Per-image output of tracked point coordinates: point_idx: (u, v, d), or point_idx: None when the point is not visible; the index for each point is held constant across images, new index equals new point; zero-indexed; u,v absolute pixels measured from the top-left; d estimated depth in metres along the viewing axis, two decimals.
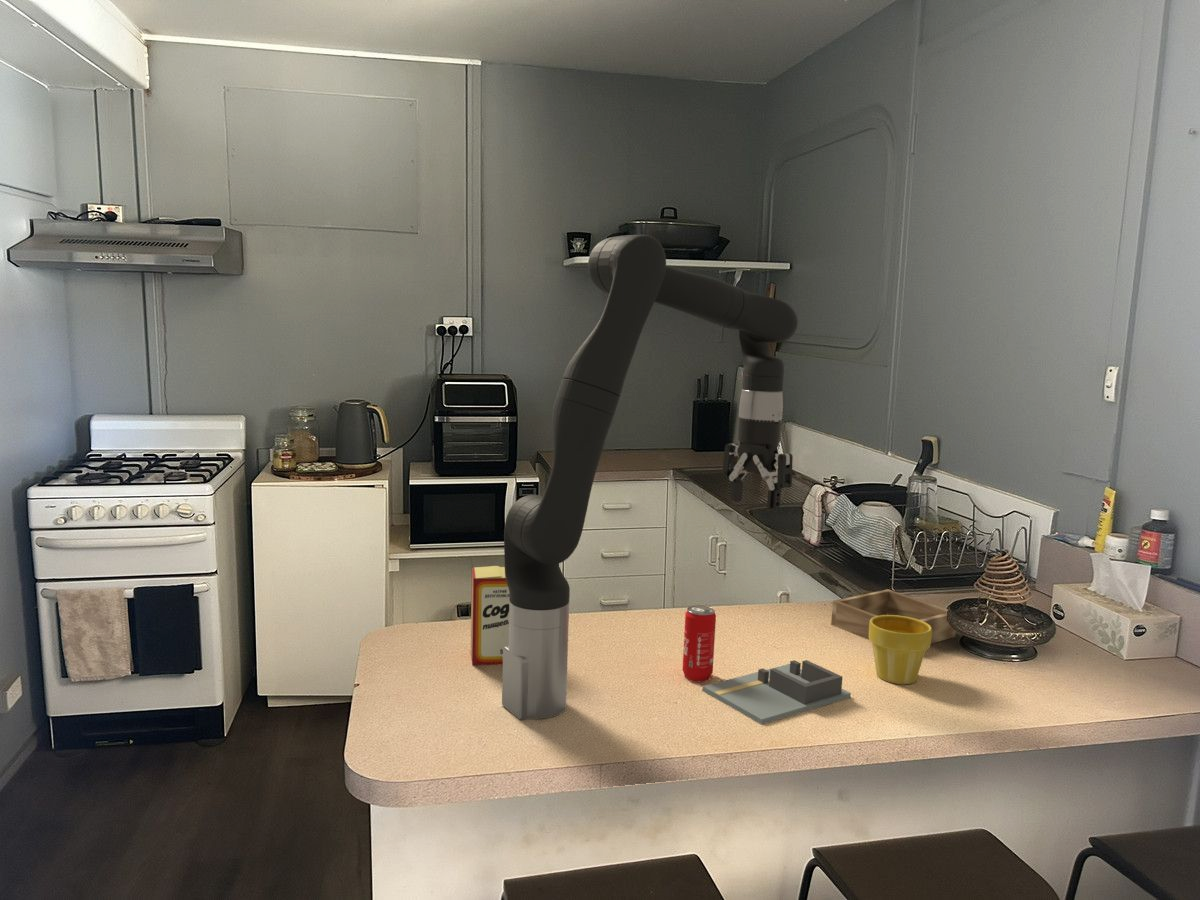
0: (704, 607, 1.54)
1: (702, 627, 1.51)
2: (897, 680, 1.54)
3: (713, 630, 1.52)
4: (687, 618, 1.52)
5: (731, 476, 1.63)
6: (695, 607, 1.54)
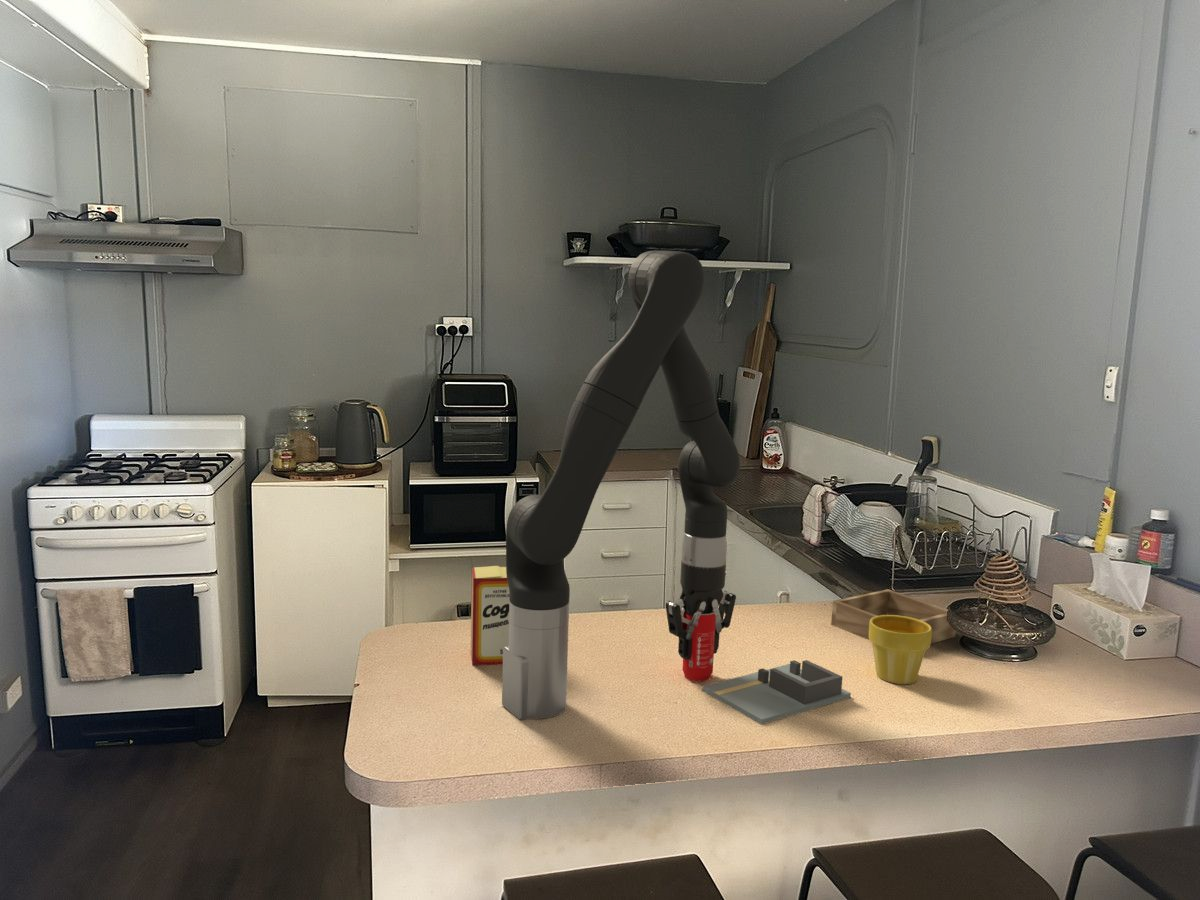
0: None
1: (702, 627, 1.51)
2: (897, 680, 1.54)
3: (713, 630, 1.52)
4: (687, 618, 1.52)
5: (689, 634, 1.51)
6: None
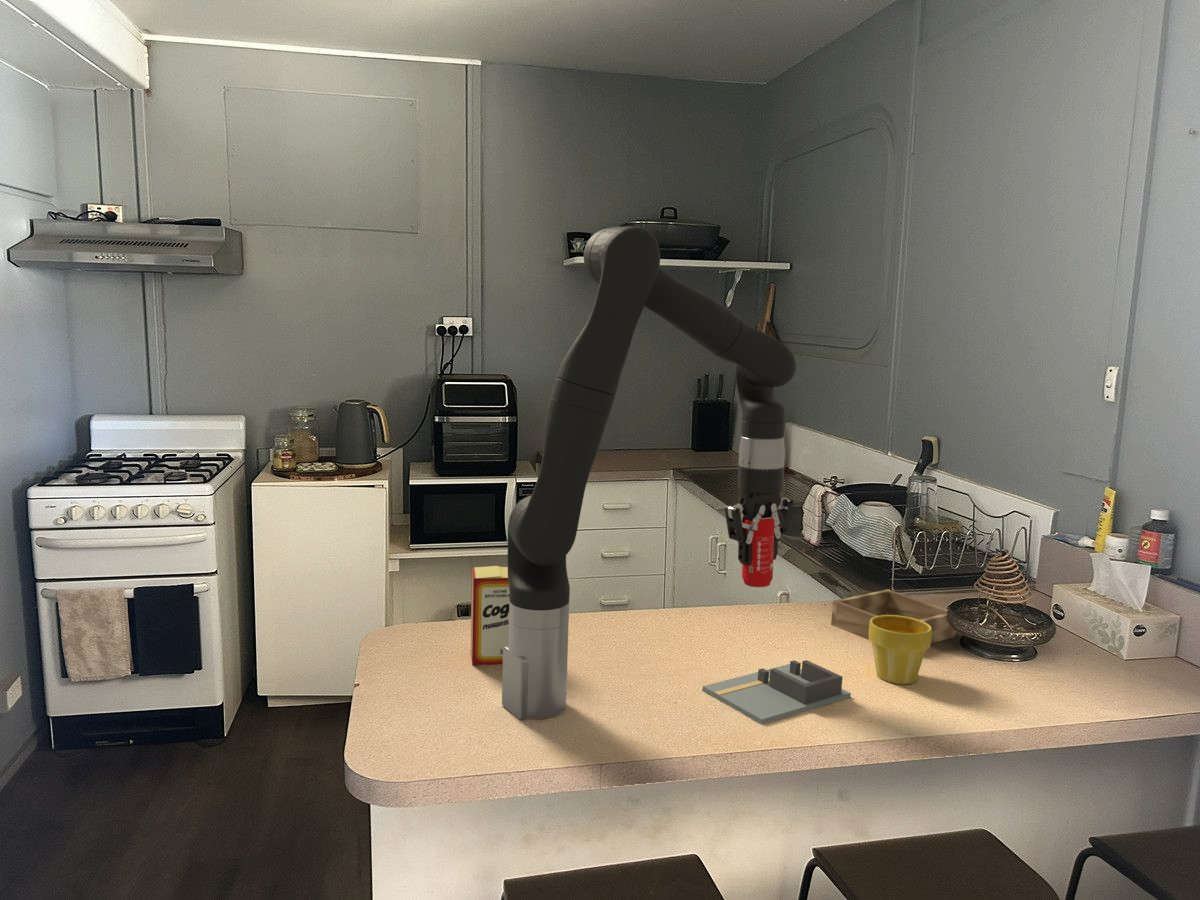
0: None
1: (761, 531, 1.49)
2: (897, 680, 1.54)
3: (772, 534, 1.51)
4: (746, 523, 1.50)
5: (749, 539, 1.49)
6: None
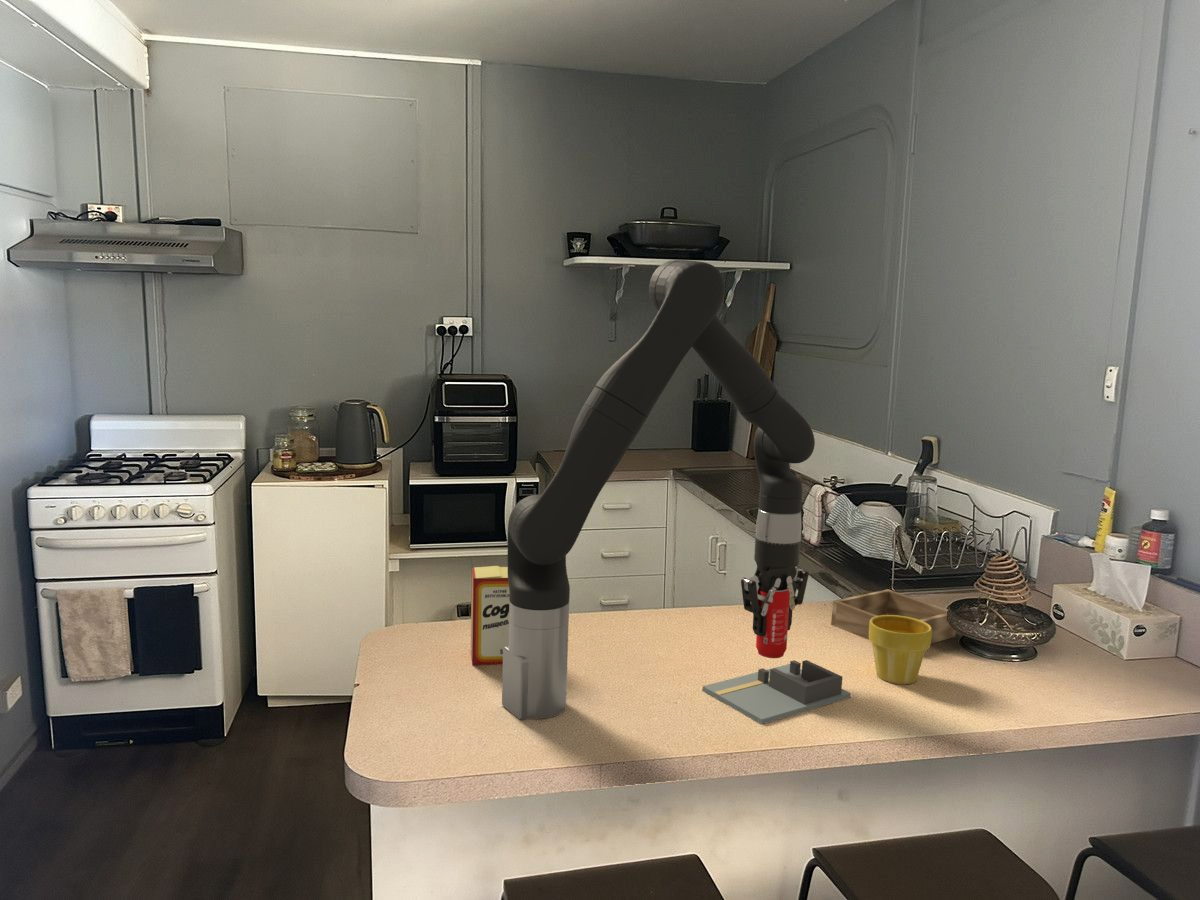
0: None
1: (777, 603, 1.51)
2: (897, 680, 1.54)
3: (787, 606, 1.52)
4: (761, 595, 1.52)
5: (764, 611, 1.51)
6: None
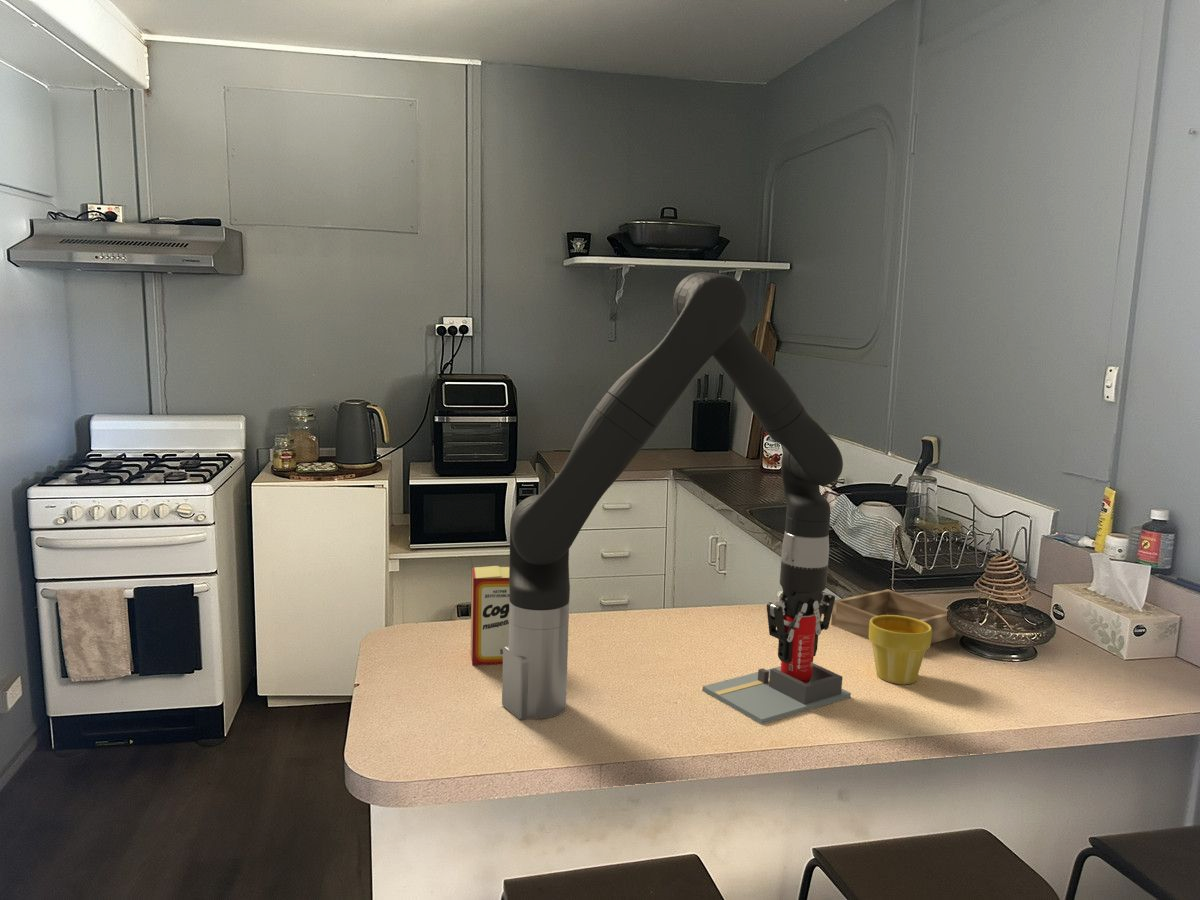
0: None
1: (803, 629, 1.46)
2: (897, 680, 1.54)
3: (814, 632, 1.48)
4: (787, 620, 1.48)
5: (790, 637, 1.46)
6: None
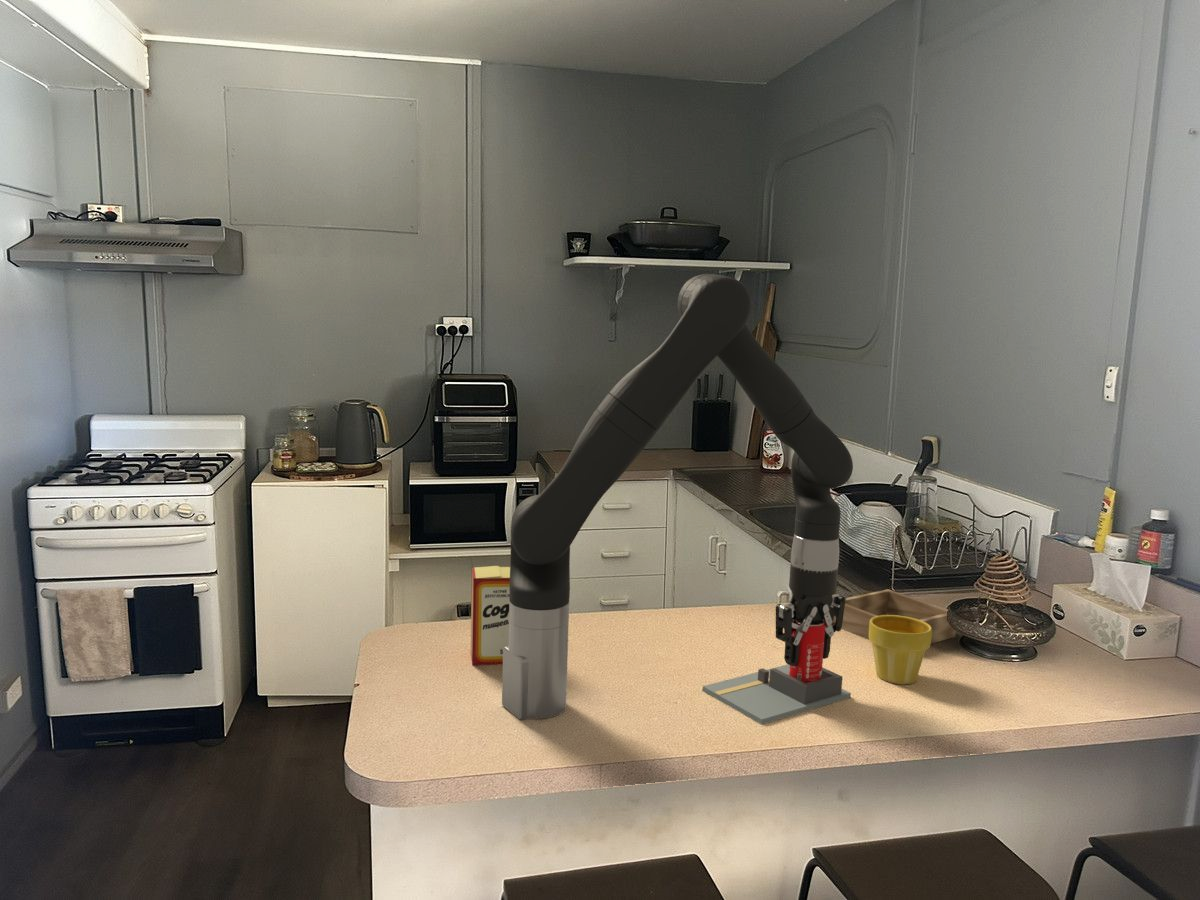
0: None
1: (812, 638, 1.45)
2: (897, 680, 1.54)
3: (823, 641, 1.46)
4: (795, 629, 1.46)
5: (797, 640, 1.44)
6: None
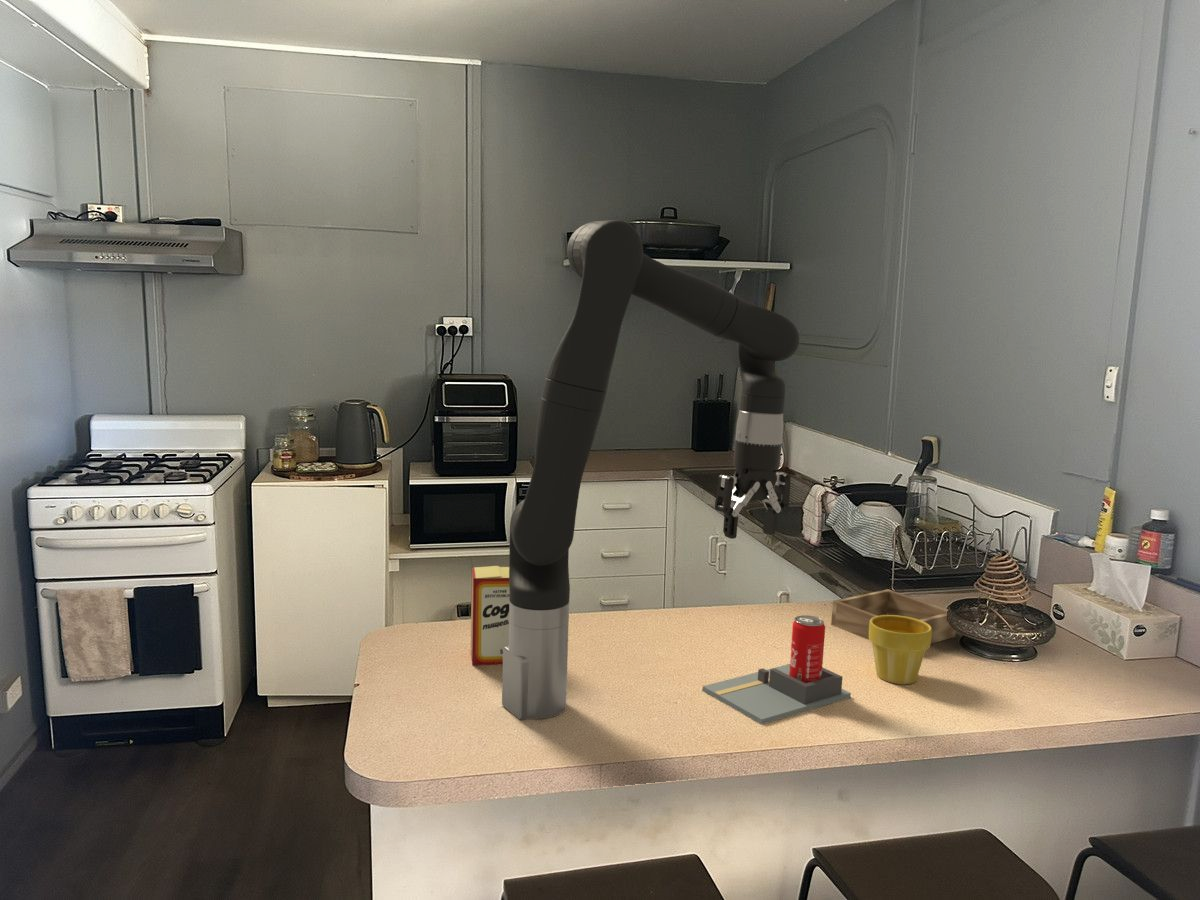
0: (812, 617, 1.48)
1: (812, 638, 1.45)
2: (897, 680, 1.54)
3: (823, 641, 1.46)
4: (796, 629, 1.46)
5: (735, 511, 1.45)
6: (802, 617, 1.48)
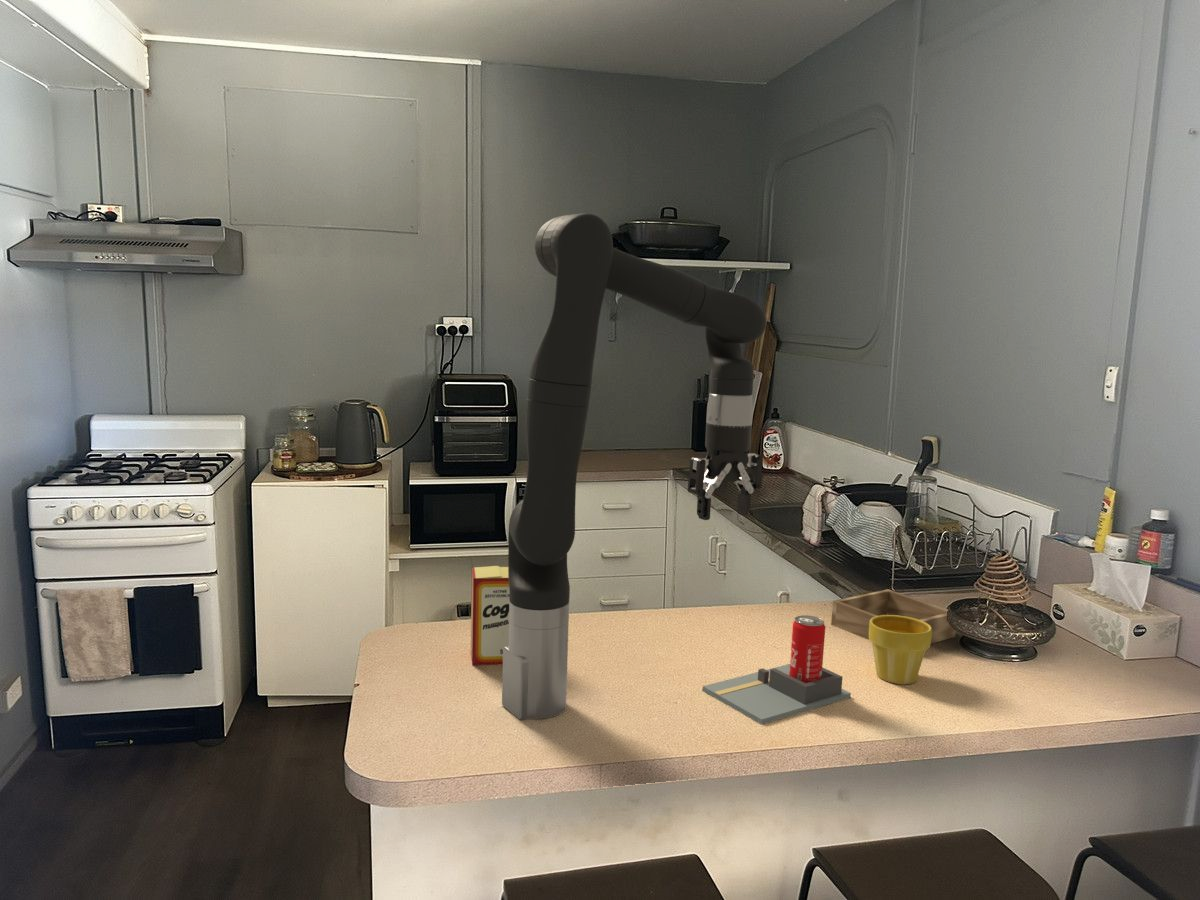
0: (812, 617, 1.48)
1: (812, 638, 1.45)
2: (897, 680, 1.54)
3: (823, 641, 1.46)
4: (796, 629, 1.46)
5: (708, 493, 1.47)
6: (802, 617, 1.48)
